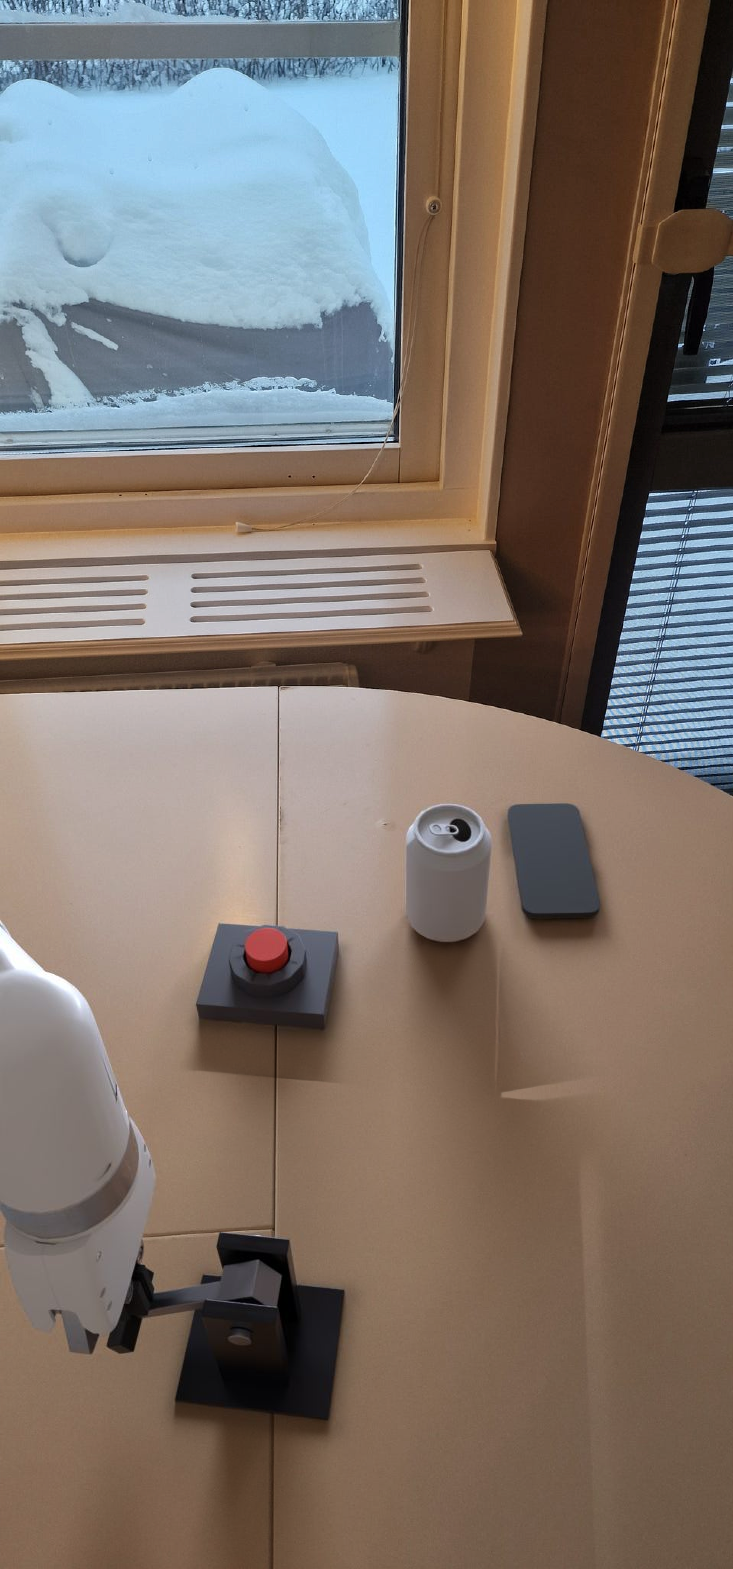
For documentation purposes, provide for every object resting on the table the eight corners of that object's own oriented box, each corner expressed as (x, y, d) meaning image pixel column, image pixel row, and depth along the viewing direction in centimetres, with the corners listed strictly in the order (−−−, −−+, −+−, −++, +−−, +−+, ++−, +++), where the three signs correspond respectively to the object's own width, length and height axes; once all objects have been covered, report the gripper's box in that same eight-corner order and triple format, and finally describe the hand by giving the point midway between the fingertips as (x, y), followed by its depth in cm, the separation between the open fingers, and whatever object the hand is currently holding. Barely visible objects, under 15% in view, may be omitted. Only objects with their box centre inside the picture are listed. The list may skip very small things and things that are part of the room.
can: (494, 941, 95) (502, 851, 87) (414, 953, 94) (415, 863, 86) (474, 882, 100) (480, 791, 92) (398, 892, 100) (398, 802, 92)
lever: (125, 1357, 67) (99, 1343, 65) (145, 1278, 70) (122, 1263, 69) (271, 1337, 61) (246, 1321, 60) (286, 1252, 65) (263, 1235, 64)
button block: (199, 1019, 89) (192, 991, 87) (221, 938, 96) (216, 909, 93) (324, 1029, 88) (322, 1001, 86) (338, 946, 95) (337, 918, 92)
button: (243, 971, 89) (241, 959, 87) (251, 939, 91) (249, 926, 90) (284, 975, 88) (282, 962, 87) (291, 942, 91) (290, 929, 90)
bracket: (177, 1406, 67) (147, 1337, 59) (204, 1280, 73) (181, 1203, 65) (329, 1424, 66) (319, 1357, 58) (345, 1295, 72) (338, 1219, 64)
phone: (578, 802, 107) (603, 912, 96) (577, 808, 108) (602, 918, 96) (506, 804, 107) (523, 914, 96) (505, 809, 108) (522, 920, 97)
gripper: (43, 1032, 60) (106, 1184, 72) (-65, 1299, 49) (31, 1425, 61) (169, 1043, 59) (211, 1194, 72) (89, 1317, 48) (154, 1440, 61)
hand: (127, 1300), depth 66 cm, fingers closed
